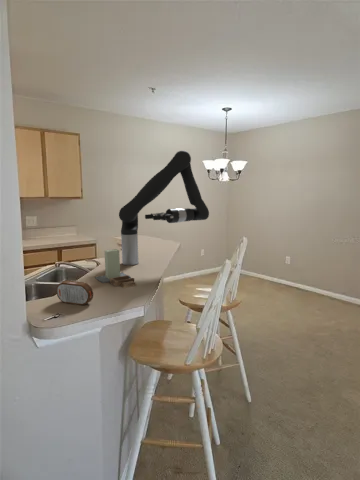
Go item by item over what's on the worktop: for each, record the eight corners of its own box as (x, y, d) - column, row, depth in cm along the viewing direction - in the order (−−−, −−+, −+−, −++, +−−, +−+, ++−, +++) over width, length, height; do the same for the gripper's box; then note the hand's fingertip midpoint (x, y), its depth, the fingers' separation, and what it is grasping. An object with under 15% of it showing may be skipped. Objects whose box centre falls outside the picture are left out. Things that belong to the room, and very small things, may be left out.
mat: (95, 278, 153) (95, 277, 152) (122, 273, 160) (122, 272, 160) (102, 283, 144) (102, 281, 144) (130, 278, 152) (130, 276, 152)
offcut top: (121, 285, 140) (121, 283, 140) (132, 283, 143) (132, 281, 143) (124, 286, 138) (124, 284, 138) (135, 284, 141) (135, 282, 140)
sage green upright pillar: (105, 277, 152) (104, 250, 150) (117, 275, 155) (116, 249, 153) (108, 278, 149) (107, 251, 147) (120, 276, 153) (119, 250, 151)
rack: (109, 282, 145) (109, 278, 145) (127, 279, 150) (127, 275, 150) (116, 286, 139) (115, 281, 139) (134, 282, 144) (134, 278, 144)
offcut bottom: (120, 287, 140) (120, 285, 140) (133, 284, 144) (133, 282, 143) (124, 289, 137) (124, 287, 137) (136, 286, 141) (136, 284, 140)
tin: (94, 304, 118) (93, 282, 117) (89, 307, 115) (88, 284, 114) (61, 299, 123) (59, 279, 122) (55, 302, 120) (54, 281, 119)
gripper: (168, 207, 174) (142, 209, 165) (183, 209, 163) (156, 210, 154) (168, 221, 175) (142, 223, 166) (183, 223, 164) (156, 226, 155)
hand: (149, 217), depth 160 cm, fingers open, 8 cm apart
